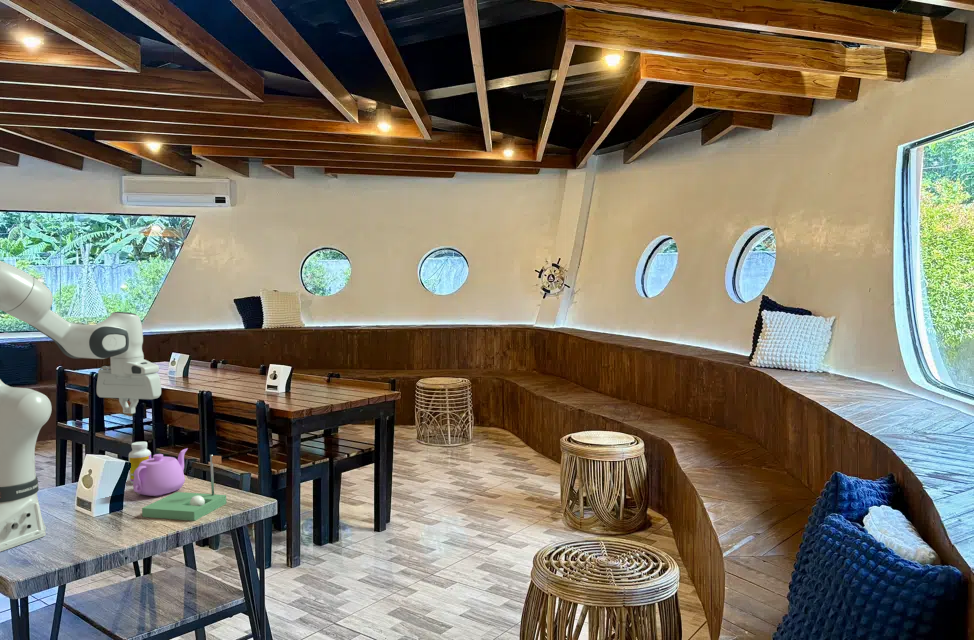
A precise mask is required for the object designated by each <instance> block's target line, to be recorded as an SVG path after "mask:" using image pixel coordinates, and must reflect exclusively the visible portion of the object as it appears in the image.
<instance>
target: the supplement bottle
mask: <svg viewBox="0 0 974 640" xmlns="http://www.w3.org/2000/svg"><path fill="white" fill-rule="evenodd" d="M130 445H131V449H132V450H131V451H130V452H129V453H128V463H129V462H130V463H131V468H130V470H129V469H128V470H129V482H130V484H131V485H133V482H134V471H135V470H136V468H138V466H139V464H140V463H141V462H142V461H144V460H147V459H151V458H152V452H151V450H150V449H148V442H147V441H135V442H131V444H130Z"/></svg>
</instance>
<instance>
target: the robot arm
mask: <svg viewBox="0 0 974 640" xmlns="http://www.w3.org/2000/svg"><path fill="white" fill-rule="evenodd" d="M53 299H54V298H53V293H52V291H51V290H50V289H49V288H48V287H47V286H46V285H45V284H44V283H42V282H41V281H40V280H38V279H37V278H36V277H34V276H32V275H31V274H29V273H27V272H25V271H24V270H22V269H19V268H18V267H15V266H14V265H12V264H9V263H7V262H4V261H2V260H0V311H2V312H4V313H6V314H7V315H9V316H11V317H13V318H15V319H18V320H20V321H22V322H23V323H26V324H28V325H29V326H31V327H32V328H34V329H35V330H37V331H38V332H40V333H41V334H43V335H44V336H45V337H48V338H49V339H51V340H52V342H53V343H55V344H56V345H57V347H58V348H59V350H60V351H61V352H62V354H64V355H65V356H66V357H69V358H71V359H94V360H97V359H99V360H104V359H108V358H109V359H110V365H109V366H106V365H104V366H101V367H100V368H99V369H98V370H97V381H96V395H97V397H99V398H106V399H107V398H109V399H110V398H111V399H113V398H114V399H118V402H119V404H120V406H121V408H122V413H123V414H132V415H133V414H136V408H137V405H138V403H139V400H155V399H158V398H160V396H161V395H162V383H161V377H160V374H159V373H158V372H159V371H160V366H159V364H156V363H154V362H151V361H149V360H147V359H144V358H145V355H144V352H143V344H144V334H143V333H144V332H143V325H142V324H143V323H142V320H141V318H140V316H139V315H137V314H136V313H132V312H127V311H126V312H125V311H113V312H111V314H110V315H109V316H108V317H107V318H105V319H104V320H102V321H100V322H98V323H96V324H85V323H74V322H70V321H68V320H66V319H65V318H64V317H62V316H60V314H58V313H56V312H54V311H53V310H52V309H51V308H52V305H53ZM128 401H129V402H130V404H129V403H128ZM52 411H53V410H52V402H51V400H50V399H49V398H48V396H47V395H45V394H44V393H42V392H40V391H37V390H34V389H33V388H28V387H27V388H26V387H15V386H14V387H13V386H10V385H8V384H5V383H4V382H3V381H2V379H0V552H3V551H6V550H10V549H12V548H15V547H18V546H20V545H23V544H25V543H29V542H31V541H35V540H37V539H40V538H43V537H45V536H46V535H47V533H46V530H47V526H46V524H45V522H44V519H43V515H42V511H41V506H40V503H39V497H38V491H40V490H39V479H38V477H37V476H36V456H35V455H36V454H35V453H36V452H35V449H36V445H37V444H36V443H37V441H38V436H39V433H40V431H41V429H42V427H43V426H44V425H45V424H46V423H47V422H48V421H49V419H50V417H51V414H52Z"/></svg>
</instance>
